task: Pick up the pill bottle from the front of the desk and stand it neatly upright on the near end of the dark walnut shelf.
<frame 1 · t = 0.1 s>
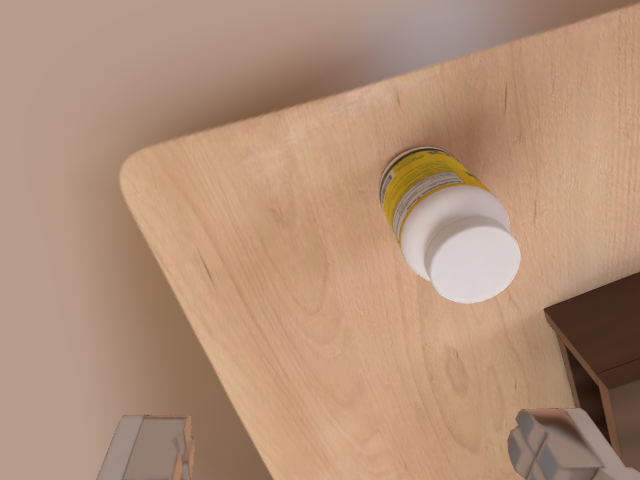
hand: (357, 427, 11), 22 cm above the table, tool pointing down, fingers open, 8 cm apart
pill bottle: (418, 184, 32), on the table
shelf: (629, 385, 44), on the table
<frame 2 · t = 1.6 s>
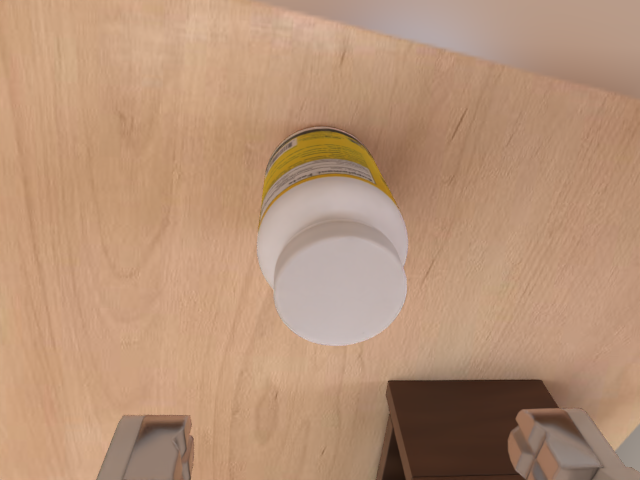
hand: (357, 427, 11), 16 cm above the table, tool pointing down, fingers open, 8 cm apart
pill bottle: (320, 176, 25), on the table
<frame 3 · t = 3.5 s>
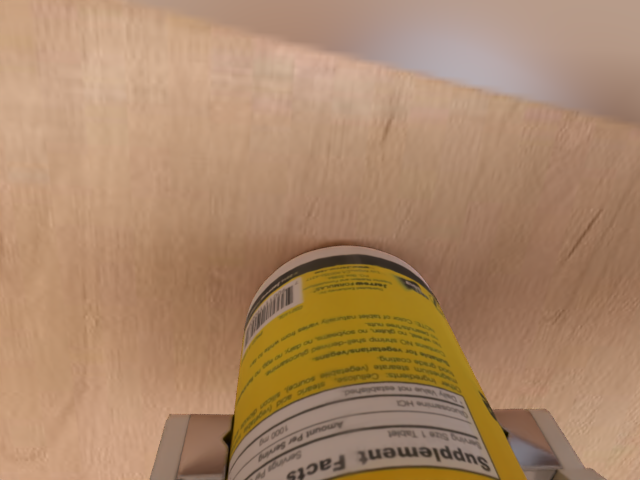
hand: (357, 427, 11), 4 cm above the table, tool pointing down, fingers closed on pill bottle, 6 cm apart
pill bottle: (340, 315, 15), on the table, touching gripper
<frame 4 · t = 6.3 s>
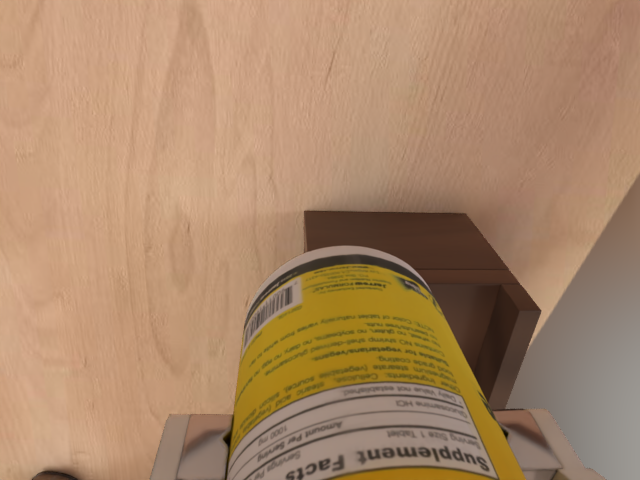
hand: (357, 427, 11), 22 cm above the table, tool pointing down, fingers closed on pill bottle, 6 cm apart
pill bottle: (340, 315, 15), point 17 cm above the table, touching gripper
shelf: (366, 354, 39), on the table
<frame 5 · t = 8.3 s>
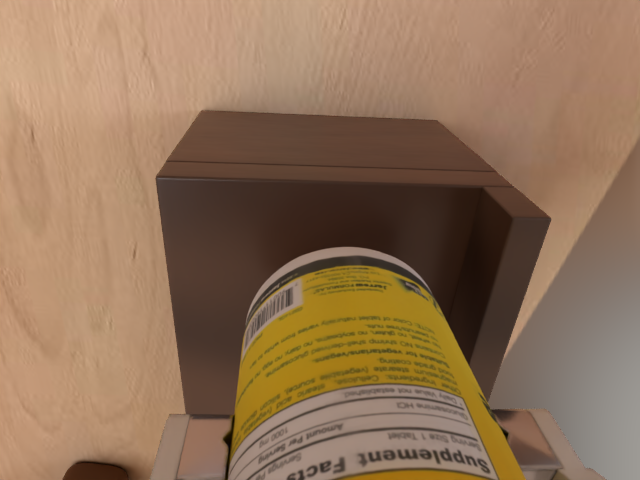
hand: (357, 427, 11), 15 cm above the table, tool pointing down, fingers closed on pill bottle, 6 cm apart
pill bottle: (340, 316, 15), point 11 cm above the table, touching gripper
shelf: (309, 329, 29), on the table
when the fingers open (13 cm above the table, at t = 9.6 s): pill bottle stays where it is, resting on shelf.
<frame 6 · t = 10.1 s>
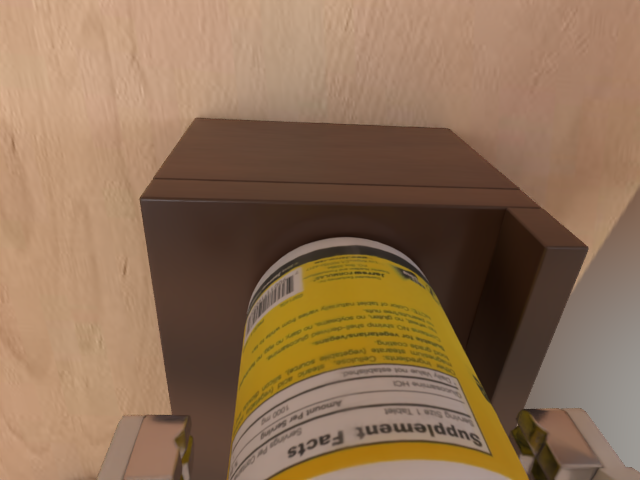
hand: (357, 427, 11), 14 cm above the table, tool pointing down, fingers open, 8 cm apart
pill bottle: (340, 306, 15), point 9 cm above the table, touching shelf
shelf: (310, 348, 28), on the table
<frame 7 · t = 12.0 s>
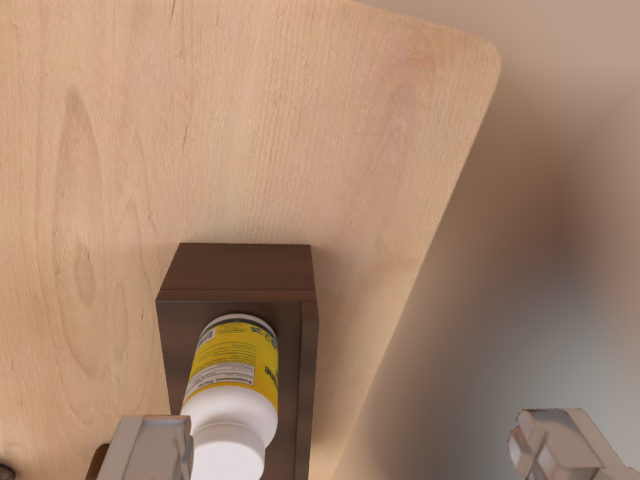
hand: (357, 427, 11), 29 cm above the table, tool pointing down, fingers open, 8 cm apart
pill bottle: (239, 339, 35), point 9 cm above the table, touching shelf
shelf: (248, 358, 48), on the table
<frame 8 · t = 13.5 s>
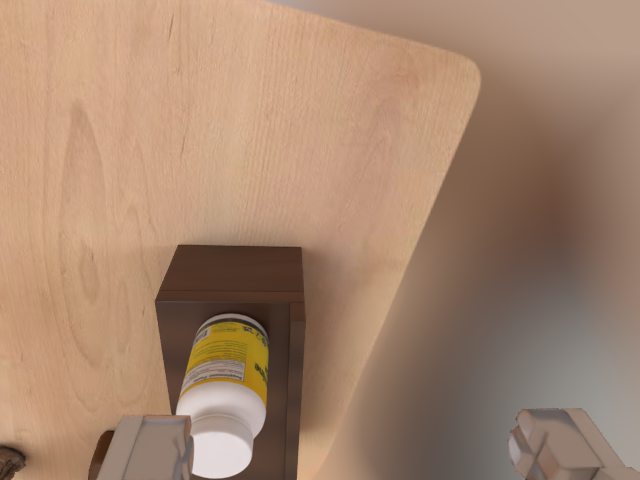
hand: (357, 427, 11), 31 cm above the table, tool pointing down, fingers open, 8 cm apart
pill bottle: (233, 337, 38), point 9 cm above the table, touching shelf
figurine: (2, 457, 57), on the table
shelf: (243, 352, 51), on the table
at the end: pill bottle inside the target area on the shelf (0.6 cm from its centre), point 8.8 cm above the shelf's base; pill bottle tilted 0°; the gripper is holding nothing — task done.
